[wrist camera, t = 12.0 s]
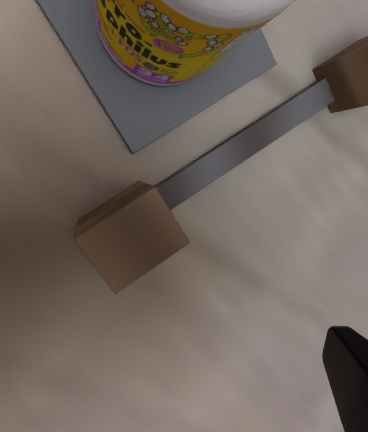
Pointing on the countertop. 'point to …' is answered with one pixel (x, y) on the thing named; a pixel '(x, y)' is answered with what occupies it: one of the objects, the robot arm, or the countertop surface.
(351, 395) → the robot arm
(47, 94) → the countertop surface
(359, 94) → the walnut gate
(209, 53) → the supplement bottle
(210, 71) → the slate mat
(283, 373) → the countertop surface
